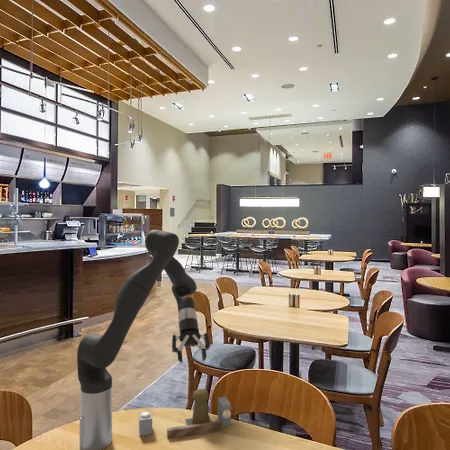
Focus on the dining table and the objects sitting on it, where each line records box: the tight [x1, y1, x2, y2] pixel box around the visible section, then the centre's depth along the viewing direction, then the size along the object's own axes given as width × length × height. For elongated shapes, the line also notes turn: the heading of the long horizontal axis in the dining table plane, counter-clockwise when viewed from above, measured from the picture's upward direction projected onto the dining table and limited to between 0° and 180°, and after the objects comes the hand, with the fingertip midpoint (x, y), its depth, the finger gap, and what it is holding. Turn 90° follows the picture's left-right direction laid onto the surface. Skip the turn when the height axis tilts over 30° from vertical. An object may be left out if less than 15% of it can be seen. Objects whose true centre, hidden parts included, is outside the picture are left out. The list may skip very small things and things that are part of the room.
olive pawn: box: [192, 388, 210, 425], centre depth 125 cm, size 6×6×11 cm
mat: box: [185, 415, 213, 425], centre depth 125 cm, size 8×8×1 cm
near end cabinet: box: [138, 410, 153, 437], centre depth 121 cm, size 4×5×6 cm
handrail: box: [166, 420, 224, 439], centre depth 120 cm, size 18×2×2 cm, turn 105°
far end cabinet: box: [217, 396, 232, 427], centre depth 126 cm, size 3×7×7 cm, turn 15°
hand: (192, 360), depth 137 cm, fingers open, 8 cm apart
